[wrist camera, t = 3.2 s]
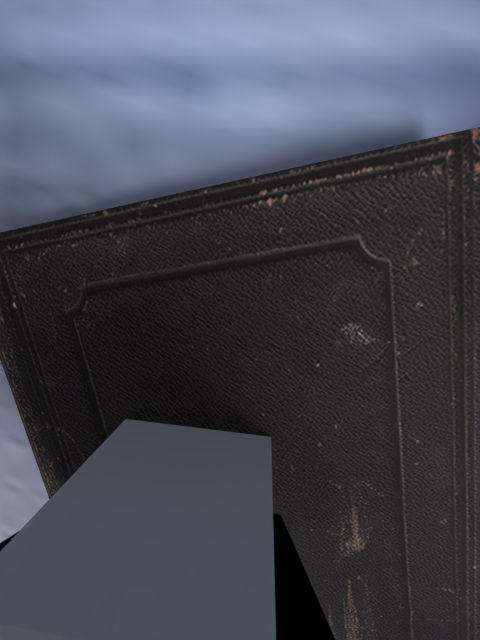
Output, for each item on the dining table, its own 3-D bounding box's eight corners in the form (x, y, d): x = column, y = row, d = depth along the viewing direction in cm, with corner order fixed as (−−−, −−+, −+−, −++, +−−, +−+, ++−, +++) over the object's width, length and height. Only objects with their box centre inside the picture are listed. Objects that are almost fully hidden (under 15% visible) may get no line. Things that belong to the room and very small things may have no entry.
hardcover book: (435, 162, 8) (499, 121, 6) (447, 671, 12) (487, 761, 10) (14, 249, 10) (-56, 244, 8) (143, 658, 14) (120, 729, 12)
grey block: (259, 557, 9) (250, 878, 4) (129, 535, 10) (-10, 805, 5) (271, 436, 8) (276, 681, 3) (125, 418, 9) (-57, 611, 4)
